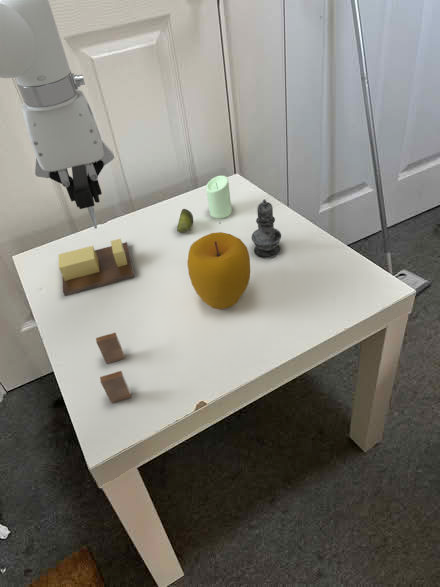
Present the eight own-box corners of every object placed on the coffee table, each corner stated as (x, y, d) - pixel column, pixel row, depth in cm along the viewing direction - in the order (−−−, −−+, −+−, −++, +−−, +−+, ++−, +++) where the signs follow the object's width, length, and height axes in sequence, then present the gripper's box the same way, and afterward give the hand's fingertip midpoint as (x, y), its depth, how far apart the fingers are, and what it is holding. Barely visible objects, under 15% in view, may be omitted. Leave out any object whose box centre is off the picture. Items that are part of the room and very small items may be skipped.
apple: (265, 303, 82) (261, 247, 73) (211, 329, 79) (201, 273, 70) (234, 270, 89) (228, 215, 80) (185, 292, 86) (172, 238, 77)
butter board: (64, 295, 90) (62, 292, 89) (63, 262, 97) (61, 258, 97) (134, 277, 91) (133, 273, 91) (127, 245, 99) (126, 242, 98)
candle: (216, 221, 102) (211, 189, 96) (206, 211, 105) (201, 179, 100) (235, 213, 103) (232, 181, 98) (225, 203, 107) (221, 172, 101)
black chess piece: (247, 247, 94) (243, 197, 86) (272, 237, 95) (270, 187, 87) (261, 263, 90) (257, 211, 82) (287, 252, 91) (286, 201, 83)
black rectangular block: (89, 236, 77) (74, 194, 72) (85, 206, 84) (71, 166, 79) (103, 232, 77) (89, 190, 72) (98, 203, 85) (85, 162, 79)
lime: (180, 238, 99) (176, 219, 95) (172, 227, 102) (167, 208, 99) (198, 231, 100) (195, 212, 96) (190, 220, 103) (186, 201, 100)
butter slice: (117, 267, 93) (113, 253, 90) (115, 254, 96) (110, 240, 93) (127, 264, 93) (123, 251, 90) (124, 251, 96) (120, 238, 94)
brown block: (111, 403, 70) (100, 382, 66) (105, 359, 77) (95, 337, 73) (131, 397, 71) (122, 375, 67) (124, 354, 77) (115, 332, 73)
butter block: (65, 281, 91) (58, 267, 89) (64, 267, 94) (58, 254, 92) (99, 272, 92) (94, 258, 90) (97, 258, 95) (92, 245, 93)
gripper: (102, 71, 69) (131, 179, 82) (-7, 93, 67) (40, 201, 80) (107, 87, 64) (137, 200, 77) (-11, 112, 62) (40, 224, 75)
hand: (87, 200), depth 78 cm, fingers closed on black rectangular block, 2 cm apart
